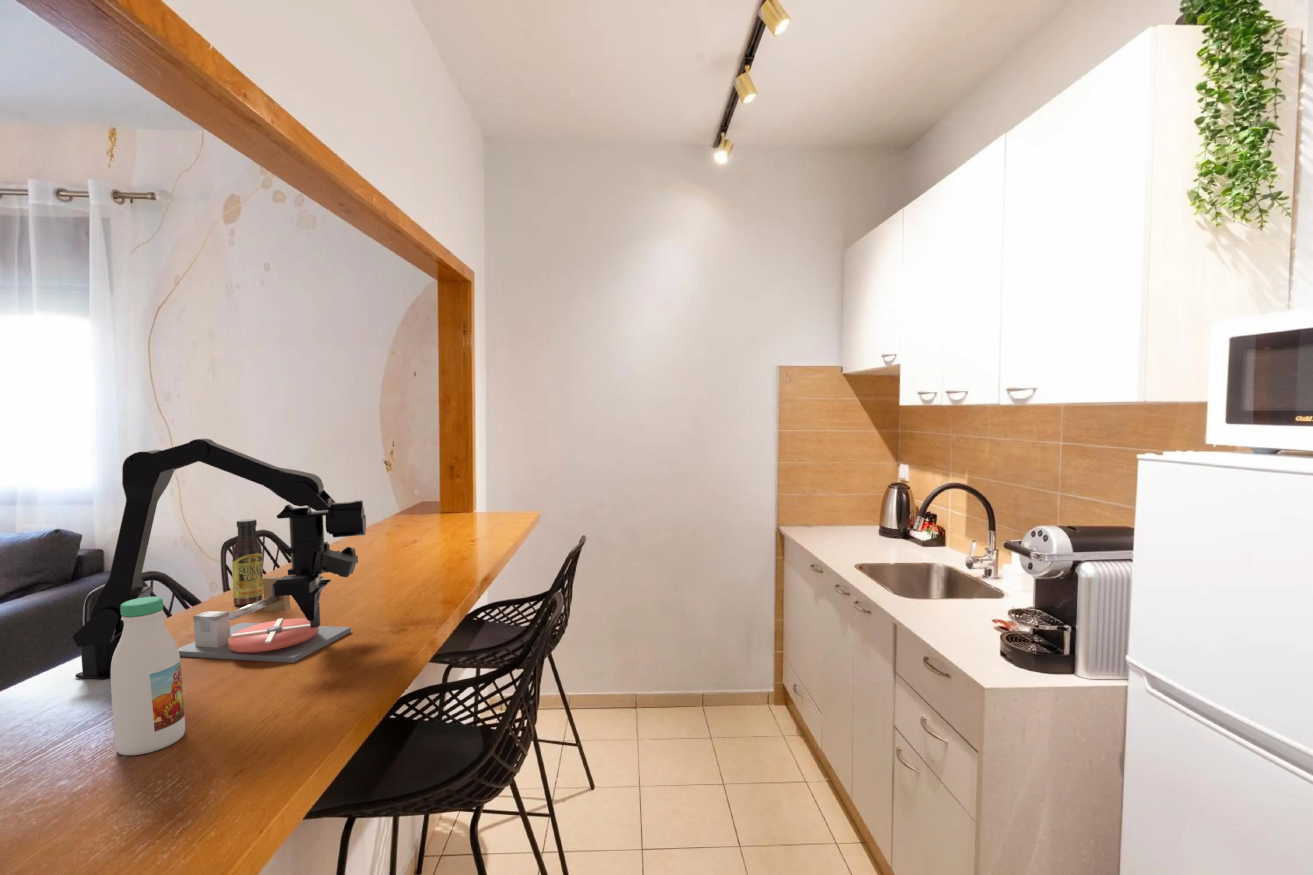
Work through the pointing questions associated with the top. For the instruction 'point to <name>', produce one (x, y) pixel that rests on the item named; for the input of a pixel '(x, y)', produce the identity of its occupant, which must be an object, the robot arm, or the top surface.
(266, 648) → the handwheel
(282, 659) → the mounting plate
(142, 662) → the milk bottle
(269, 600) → the locking pin
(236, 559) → the sauce bottle
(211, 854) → the top surface
